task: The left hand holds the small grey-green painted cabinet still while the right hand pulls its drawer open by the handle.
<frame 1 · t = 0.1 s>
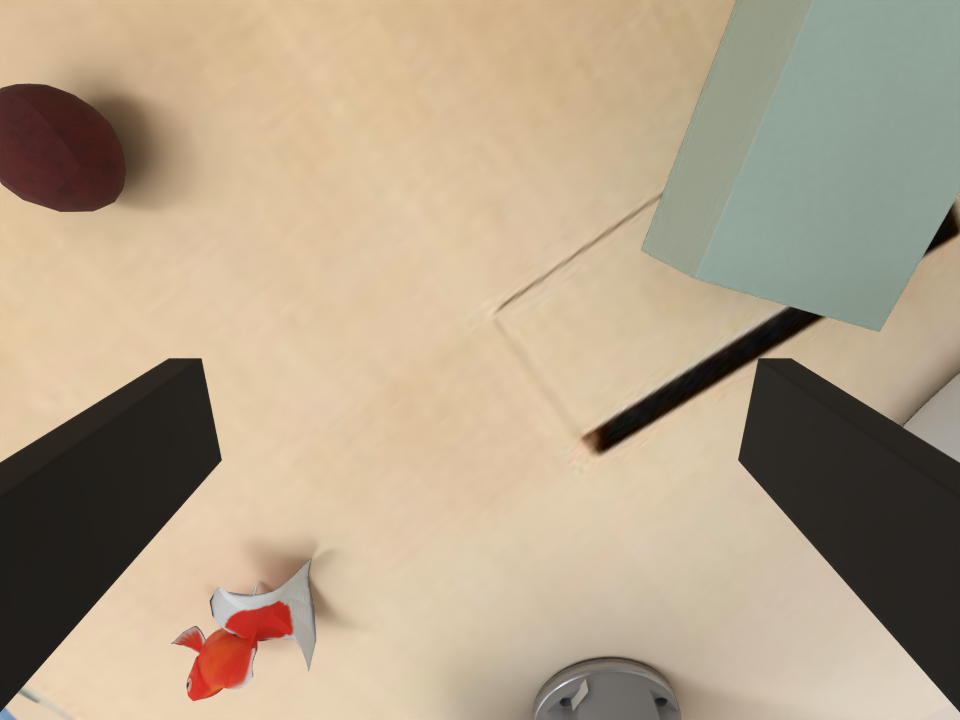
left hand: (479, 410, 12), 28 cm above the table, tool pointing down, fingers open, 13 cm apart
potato: (97, 154, 36), on the table
cabinet: (771, 135, 36), on the table
fish: (266, 592, 50), on the table
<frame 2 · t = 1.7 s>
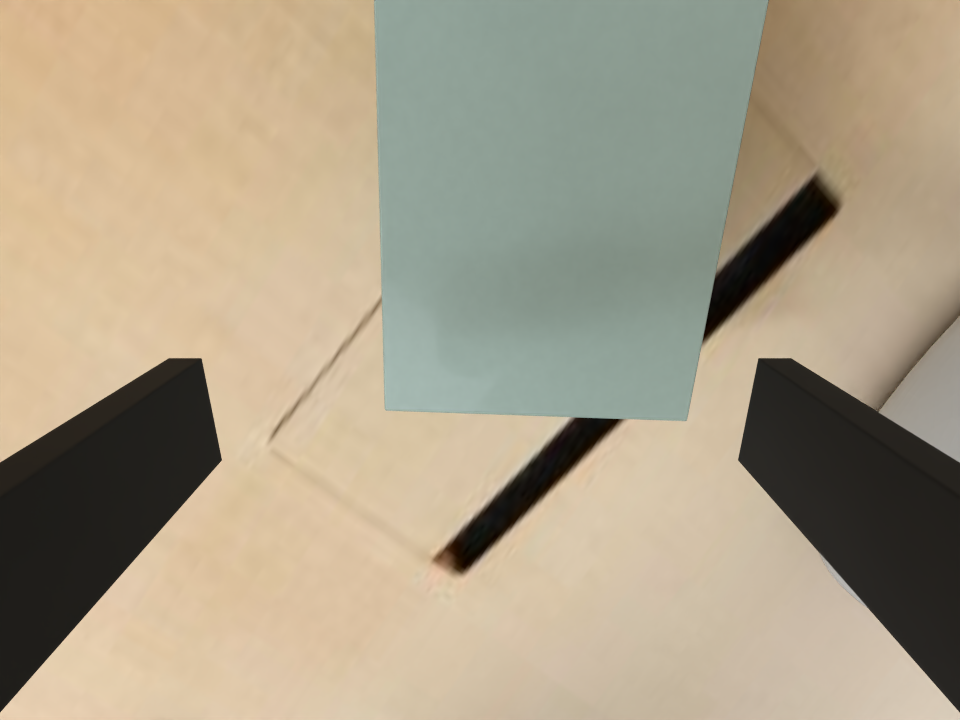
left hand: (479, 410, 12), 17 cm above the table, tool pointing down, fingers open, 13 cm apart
cabinet: (530, 151, 26), on the table
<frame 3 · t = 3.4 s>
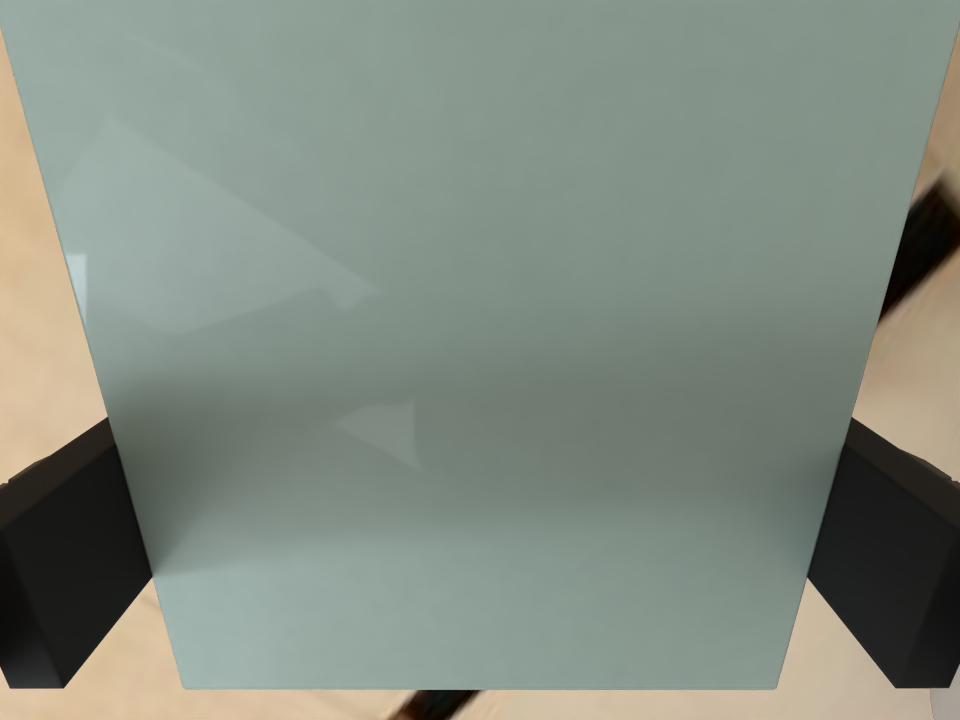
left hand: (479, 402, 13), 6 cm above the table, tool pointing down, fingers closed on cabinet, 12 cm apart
cabinet: (480, 160, 16), on the table, touching left hand
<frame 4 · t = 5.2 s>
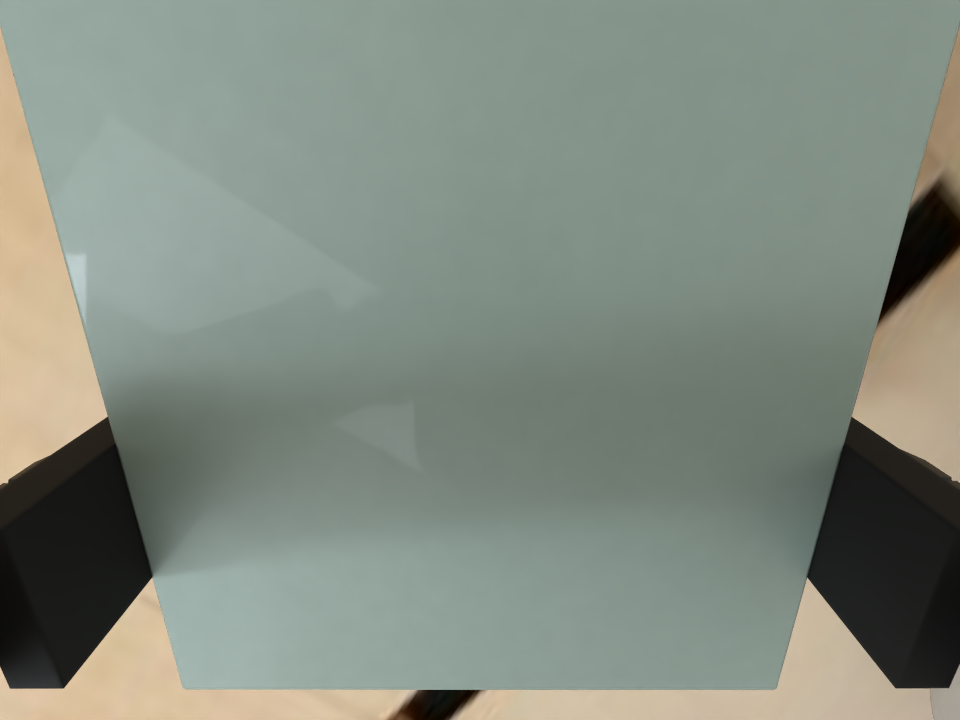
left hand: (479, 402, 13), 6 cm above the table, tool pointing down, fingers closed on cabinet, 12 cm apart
cabinet: (480, 160, 16), on the table, touching left hand
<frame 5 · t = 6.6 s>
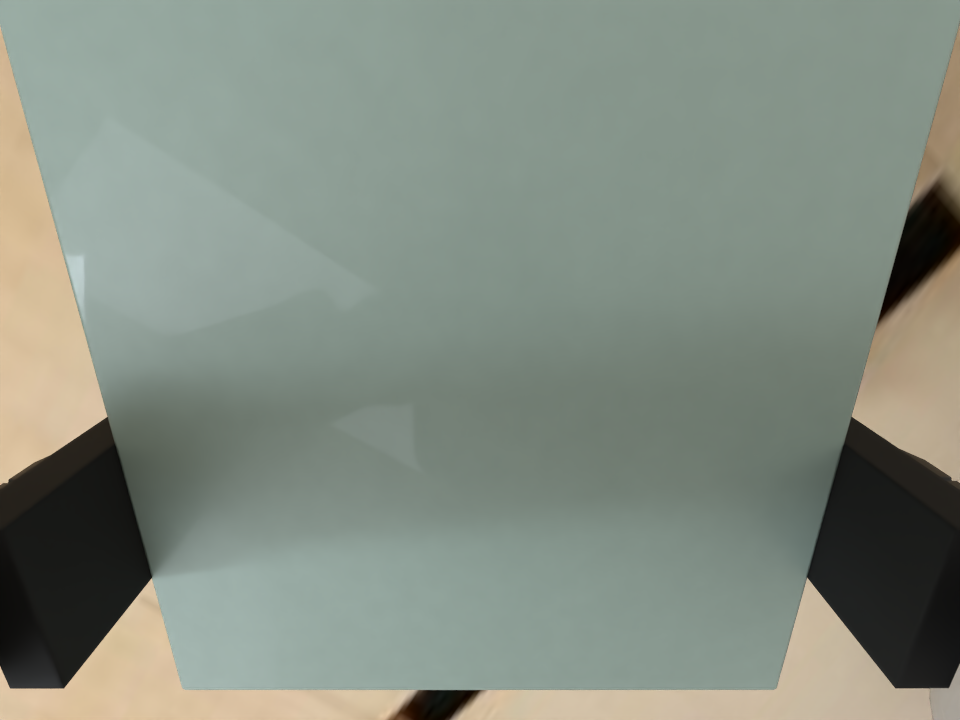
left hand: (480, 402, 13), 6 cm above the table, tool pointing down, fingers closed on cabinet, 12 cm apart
cabinet: (479, 161, 16), on the table, touching left hand
when the left hand's fingers open (6 cm above the table, at t = 8.4 s): cabinet stays where it is, on the table.
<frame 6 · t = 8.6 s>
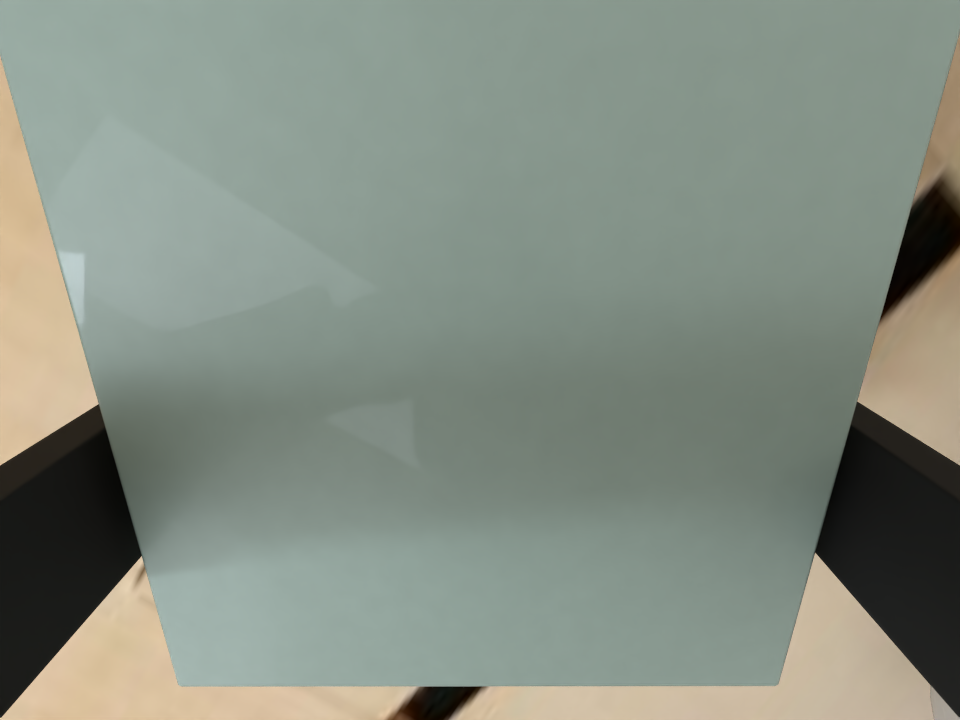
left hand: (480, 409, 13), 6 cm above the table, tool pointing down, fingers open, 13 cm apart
cabinet: (478, 154, 16), on the table
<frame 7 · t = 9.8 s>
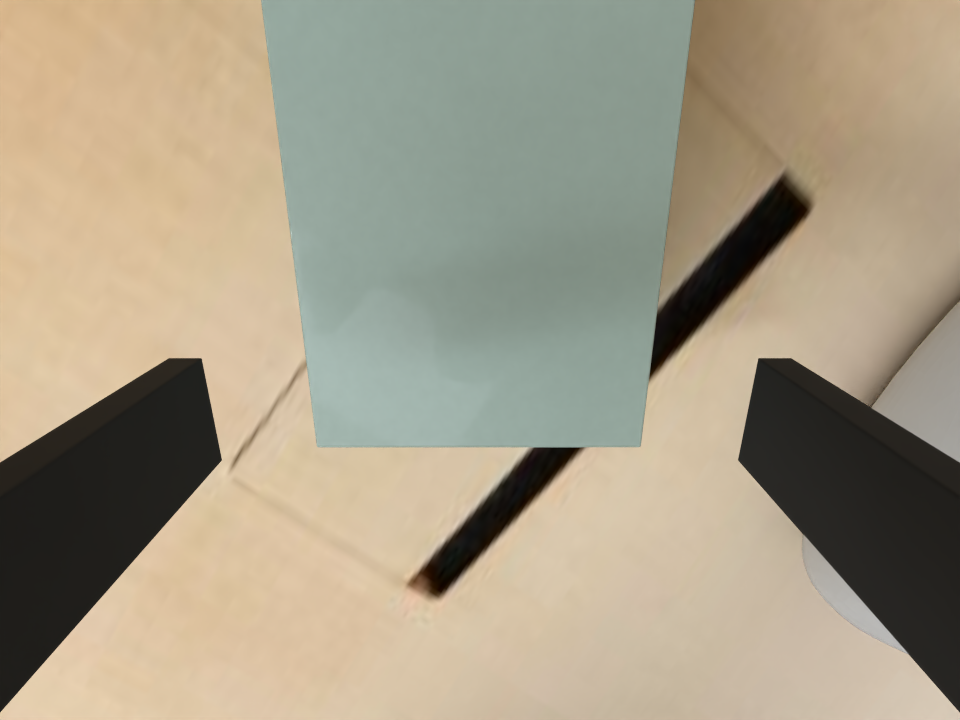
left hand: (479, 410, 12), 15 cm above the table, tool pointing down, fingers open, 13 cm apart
cabinet: (479, 159, 25), on the table
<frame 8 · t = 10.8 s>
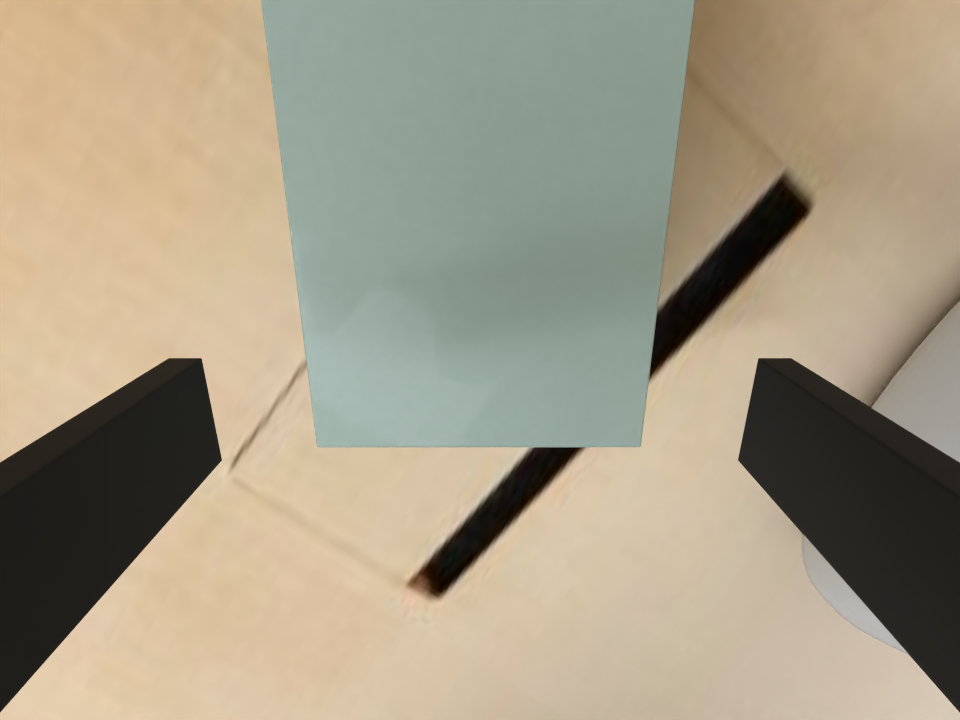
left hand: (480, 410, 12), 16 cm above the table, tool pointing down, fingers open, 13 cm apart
cabinet: (479, 159, 25), on the table
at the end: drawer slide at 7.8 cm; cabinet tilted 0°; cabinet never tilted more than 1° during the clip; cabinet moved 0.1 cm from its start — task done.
